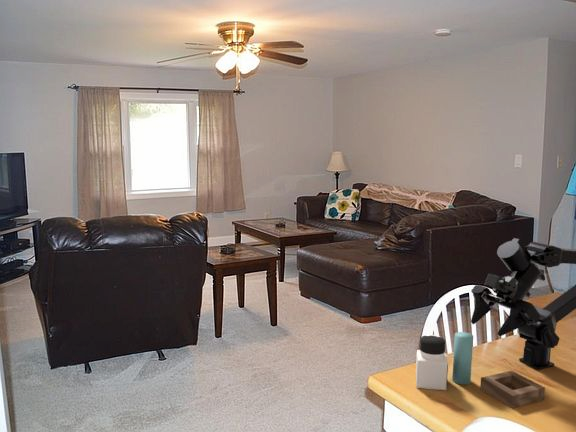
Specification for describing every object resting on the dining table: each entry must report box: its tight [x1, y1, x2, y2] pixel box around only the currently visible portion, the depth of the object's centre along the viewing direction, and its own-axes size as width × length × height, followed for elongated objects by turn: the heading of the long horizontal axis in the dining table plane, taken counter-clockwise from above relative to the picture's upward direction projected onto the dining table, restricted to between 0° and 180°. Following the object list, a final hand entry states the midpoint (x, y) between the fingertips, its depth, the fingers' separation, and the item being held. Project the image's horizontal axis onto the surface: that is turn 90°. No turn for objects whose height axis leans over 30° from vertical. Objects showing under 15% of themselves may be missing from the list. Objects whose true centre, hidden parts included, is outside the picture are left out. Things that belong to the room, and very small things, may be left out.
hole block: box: [479, 370, 546, 409], centre depth 129 cm, size 10×10×3 cm
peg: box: [451, 331, 474, 386], centre depth 135 cm, size 4×4×12 cm
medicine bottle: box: [415, 334, 449, 391], centre depth 134 cm, size 7×7×12 cm
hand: (485, 328), depth 137 cm, fingers open, 9 cm apart
